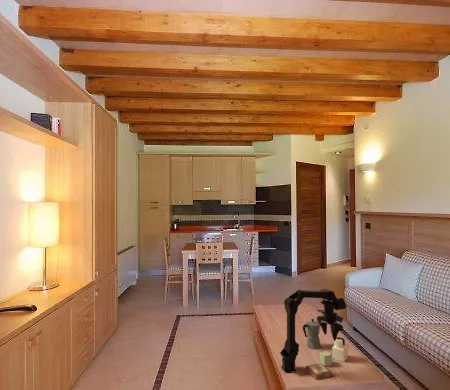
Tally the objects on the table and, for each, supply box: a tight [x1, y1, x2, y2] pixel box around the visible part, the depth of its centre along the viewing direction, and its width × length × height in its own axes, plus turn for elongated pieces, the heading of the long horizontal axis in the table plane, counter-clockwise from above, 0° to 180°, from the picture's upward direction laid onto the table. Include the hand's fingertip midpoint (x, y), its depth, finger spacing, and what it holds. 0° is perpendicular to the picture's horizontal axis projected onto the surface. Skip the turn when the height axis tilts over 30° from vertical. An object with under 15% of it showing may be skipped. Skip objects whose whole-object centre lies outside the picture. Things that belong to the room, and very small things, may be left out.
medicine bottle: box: [331, 336, 349, 363], centre depth 192 cm, size 7×7×12 cm
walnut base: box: [305, 362, 333, 380], centre depth 175 cm, size 10×10×3 cm
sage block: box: [319, 351, 333, 367], centre depth 186 cm, size 5×5×6 cm
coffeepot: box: [302, 318, 322, 350], centre depth 210 cm, size 15×9×18 cm, turn 119°
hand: (330, 337), depth 188 cm, fingers open, 9 cm apart
